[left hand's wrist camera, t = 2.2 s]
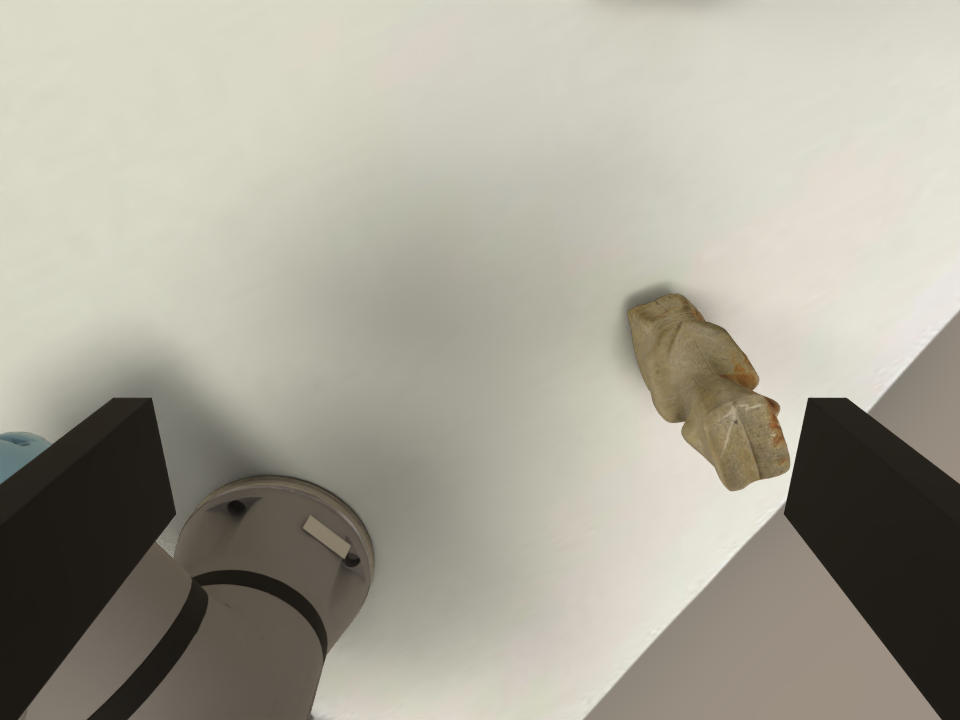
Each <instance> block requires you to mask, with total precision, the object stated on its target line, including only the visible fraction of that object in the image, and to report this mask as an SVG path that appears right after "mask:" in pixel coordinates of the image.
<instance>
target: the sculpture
mask: <svg viewBox="0 0 960 720" xmlns="http://www.w3.org/2000/svg"><path fill="white" fill-rule="evenodd" d="M628 319H629V322H630V326H631V330H632V337H633V345H634V349H635V353H636V357H637V361H638V365H639V368H640V371H641V373H642V376H643V379H644V381H645V383H646V386H647V388H648V389H649V390H650V392H651V396H652V401H653V404H654V406H655V408H656V410H657V411H658V413H659V414H660V415H661V416H662V418H663V419H664V420H666V421H667V422H670V423H678V422H685V421H686V422H685V423H684V425H683V427H682V431H681V433H682V436H683V438H684V439H685V440H686V442H687V443H688V444H690V445H691V446H692V447H693V448H694V449H696V450H697V451H698V452H699V453H700V454H701V455H702V456H704V457H705V458H706V459H707V460H708V461H709V462H710V463H711V464H712V465H713V466H714V467H715V469H716V472H717V474H718V476H719V478H720V480H721V482H722V483H723V484H724V486H725V487H726V488H727V489H728V490H729V491H737V490H741V489H743V488H745V487H746V486H747V485H749V484H750V483H752V482H754V481H757V480H762V479H768V478H772V477H776V476H780V475H782V474H784V473H786V472H787V471H788V470H789V468H790V457H789V452H788V448H787V444H786V442H785V439H784V436H783V433H782V429H781V426H780V424H779V421H778V419H777V416H778V414H779V411H780V406H779V404H778V403H777V402H776V401H774V400H772V399H770V398H767V397H765V396H763V395H760V394H758V393H756V392H754V391H752V390H753V389H755V387H756V386H757V385H758V383H759V376H758V375H757V373H756V371H755V369H754V368H753V366H752V365H751V363H750V361H749V360H748V357H747V356H746V355H745V354H744V352H743V351H742V350H741V349H740V348H739V347H738V345H737V344H736V343H735V341H734V340H733V339H732V337H731V336H730V335H729V334H728V332H727V331H726V330H725V329H724V328H722V327H720V326H718V325H715V324H712V323H709V322H706V321H705V319H704V318H703V316H702V315H701V313H700V312H699V311H698V310H697V309H696V308H695V307H694V306H693V305H692V303H691V302H690V301H689V300H687V299H686V298H685V297H684V296H682V295H680V294H669V295H665V296H662V297H660V298H658V299H657V300H655V301H652V302H650V303H648V304H646V305H639V306H636V307H634V308H632V309H630V310H629V311H628Z"/></svg>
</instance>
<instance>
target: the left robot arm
mask: <svg viewBox="0 0 960 720" xmlns="http://www.w3.org/2000/svg"><path fill="white" fill-rule="evenodd" d="M175 515H176V511H175V506H174V501H173V497H172V492H171V487H170V482H169V477H168V473H167V468H166V463H165V458H164V454H163V449H162V444H161V439H160V435H159V430H158V425H157V420H156V416H155V411H154V406H153V401H152V398H113V399H111V400H110V401H109V402H107V403H106V404H105V405H103V406H102V407H101V408H100V409H98V410H97V411H96V412H94V413H93V414H92V415H90V416H89V417H88V418H86V419H85V420H84V421H82V422H81V423H80V424H79V425H77V426H76V427H75V428H73V429H72V430H71V431H69V432H68V433H67V434H65V435H64V436H63V437H61V438H60V439H59V440H58V441H56V442H55V443H54V444H51V443H50V442H48V441H47V440H46V439H44V438H42V437H40V436H38V435H35V434H32V433H27V432H8V433H3V434H0V720H309V717H310V713H311V710H312V706H313V702H314V699H315V695H316V691H317V687H318V684H319V680H320V676H321V673H322V668H323V665H324V661H325V658H326V655H327V653H328V652H329V651H330V650H331V648H332V647H333V646H334V644H335V643H336V642H337V640H338V639H339V638H340V636H341V635H342V634H343V632H344V631H345V630H346V628H347V627H348V626H349V624H350V623H351V622H352V621H353V619H354V618H355V617H356V615H357V614H358V612H359V610H360V609H361V607H362V605H363V603H364V602H365V599H366V597H367V595H368V591H369V587H370V583H371V579H372V575H373V568H374V556H373V549H372V545H371V542H370V539H369V536H368V534H367V532H366V530H365V528H364V526H363V525H362V523H361V522H360V520H359V519H358V518H357V516H356V515H355V514H354V513H353V512H352V511H351V509H350V508H348V507H347V506H346V505H345V504H344V503H343V502H342V501H340V500H339V499H338V498H336V497H335V496H333V495H332V494H330V493H329V492H327V491H325V490H323V489H321V488H319V487H317V486H315V485H312V484H310V483H307V482H304V481H301V480H296V479H292V478H286V477H278V476H259V477H250V478H245V479H241V480H238V481H234V482H232V483H229V484H227V485H225V486H223V487H221V488H219V489H217V490H216V491H214V492H213V493H211V494H210V495H209V496H207V497H206V498H205V499H204V500H203V501H202V502H201V503H200V504H199V506H198V507H197V508H196V510H195V511H194V512H193V514H192V515H191V516H190V518H189V519H188V521H187V522H186V523H185V525H184V527H183V529H182V531H181V533H180V536H179V539H178V542H177V545H176V549H175V554H174V559H173V558H172V557H171V556H170V555H169V554H168V553H167V552H166V551H165V550H164V549H163V548H162V547H161V546H160V545H158V544H157V543H156V542H155V541H156V540H157V538H158V537H159V536H160V534H161V533H162V532H163V531H164V529H165V528H166V527H167V525H168V524H169V523H170V521H171V520H172V519H173V517H174V516H175ZM784 515H785V516H786V518H787V519H788V520H789V521H790V523H791V524H792V525H793V527H794V528H795V529H796V530H797V532H798V533H799V534H800V536H801V537H802V538H803V540H804V541H805V542H806V543H807V545H808V546H809V547H810V549H811V550H812V551H813V553H814V554H815V555H816V557H817V558H818V559H819V560H820V562H821V563H822V564H823V566H824V567H825V568H826V570H827V571H828V572H829V573H830V575H831V576H832V577H833V579H834V580H835V581H836V583H837V584H838V585H839V587H840V588H841V589H842V590H843V592H844V593H845V594H846V596H847V597H848V598H849V600H850V601H851V602H852V603H853V605H854V606H855V607H856V609H857V610H858V611H859V613H860V614H861V615H862V616H863V618H864V619H865V620H866V622H867V623H868V624H869V626H870V627H871V628H872V629H873V631H874V632H875V633H876V635H877V636H878V637H879V639H880V640H881V641H882V642H883V644H884V645H885V646H886V648H887V649H888V650H889V652H890V653H891V654H892V656H893V657H894V658H895V659H896V661H897V662H898V663H899V665H900V666H901V667H902V669H903V670H904V671H905V672H906V674H907V675H908V676H909V678H910V679H911V680H912V682H913V683H914V684H915V685H916V687H917V688H918V689H919V691H920V692H921V693H922V695H923V696H924V697H925V698H926V700H927V701H928V702H929V704H930V705H931V706H932V708H933V709H934V710H935V711H936V713H937V714H938V715H939V717H940V718H941V719H942V720H960V484H959V483H958V482H956V481H955V480H953V479H952V478H951V477H950V476H948V475H947V474H946V473H944V472H943V471H942V470H940V469H939V468H938V467H937V466H935V465H934V464H933V463H931V462H930V461H929V460H927V459H926V458H925V457H923V456H922V455H921V454H920V453H918V452H917V451H916V450H914V449H913V448H912V447H910V446H909V445H908V444H906V443H905V442H904V441H902V440H901V439H900V438H899V437H897V436H896V435H895V434H893V433H892V432H891V431H889V430H888V429H887V428H885V427H884V426H883V425H881V424H880V423H879V422H878V421H876V420H875V419H874V418H872V417H871V416H870V415H868V414H867V413H866V412H864V411H863V410H862V409H860V408H859V407H858V406H857V405H855V404H854V403H853V402H851V401H850V400H849V399H847V398H808V401H807V406H806V411H805V416H804V420H803V425H802V430H801V435H800V439H799V444H798V449H797V454H796V458H795V463H794V468H793V473H792V477H791V482H790V487H789V492H788V497H787V501H786V506H785V511H784Z"/></svg>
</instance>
